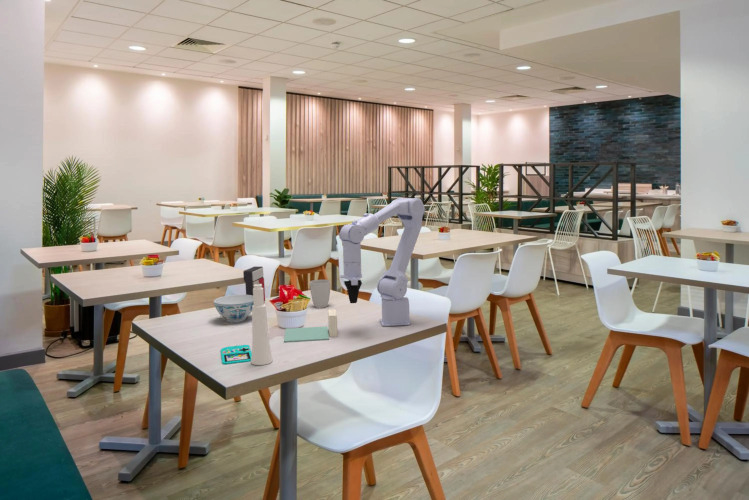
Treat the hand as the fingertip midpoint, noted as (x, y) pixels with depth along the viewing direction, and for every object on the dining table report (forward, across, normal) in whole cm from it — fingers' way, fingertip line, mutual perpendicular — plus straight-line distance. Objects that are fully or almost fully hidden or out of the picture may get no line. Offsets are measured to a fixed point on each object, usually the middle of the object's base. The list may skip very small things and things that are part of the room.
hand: (353, 302), depth 177 cm
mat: (+10, 0, -16) cm, 18 cm away
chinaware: (+10, -24, -41) cm, 48 cm away
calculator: (+10, -46, -36) cm, 59 cm away
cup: (+10, -38, -10) cm, 41 cm away
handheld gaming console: (+10, +16, -36) cm, 41 cm away
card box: (+10, 0, -7) cm, 12 cm away
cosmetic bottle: (+10, +24, -28) cm, 38 cm away
